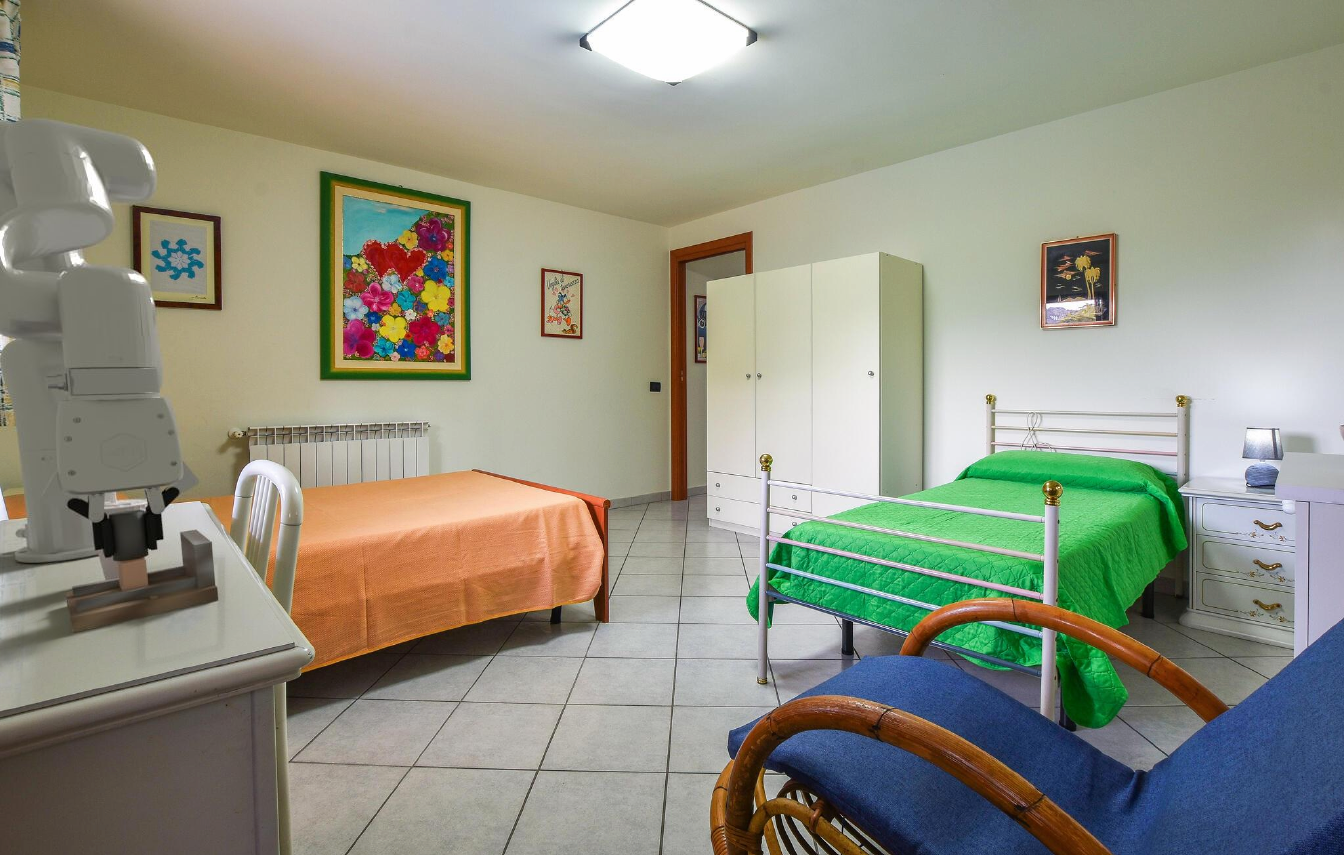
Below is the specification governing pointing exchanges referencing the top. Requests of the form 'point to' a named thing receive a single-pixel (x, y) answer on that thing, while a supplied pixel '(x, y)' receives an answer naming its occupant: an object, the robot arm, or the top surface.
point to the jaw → (130, 548)
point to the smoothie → (109, 507)
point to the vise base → (148, 589)
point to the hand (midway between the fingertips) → (130, 549)
